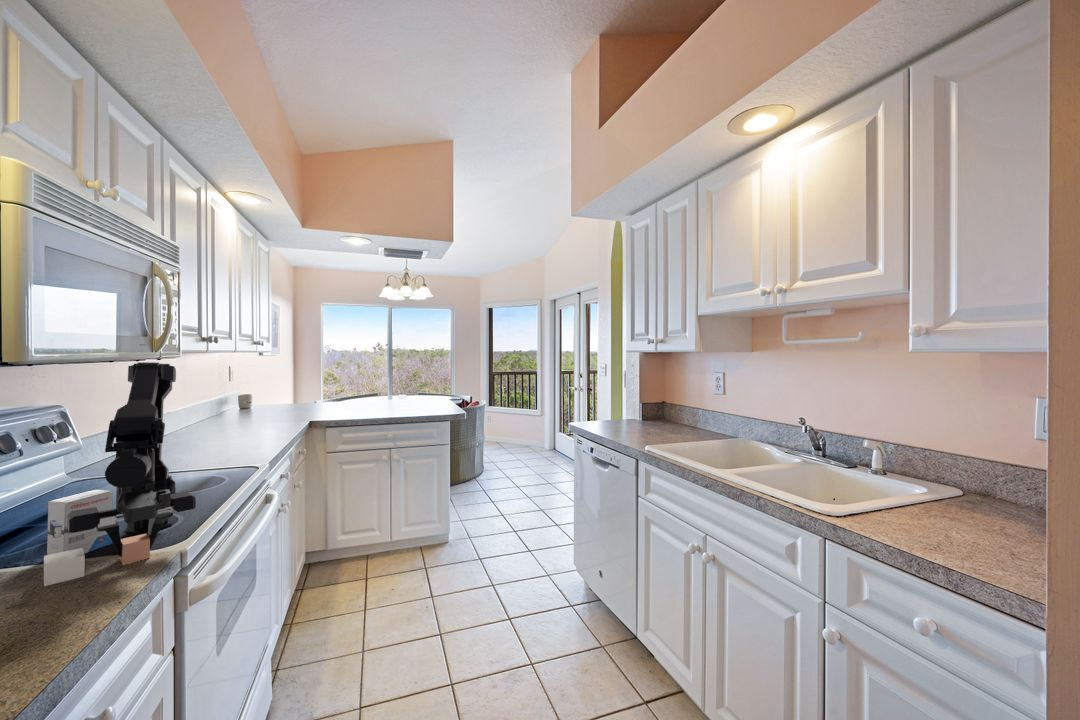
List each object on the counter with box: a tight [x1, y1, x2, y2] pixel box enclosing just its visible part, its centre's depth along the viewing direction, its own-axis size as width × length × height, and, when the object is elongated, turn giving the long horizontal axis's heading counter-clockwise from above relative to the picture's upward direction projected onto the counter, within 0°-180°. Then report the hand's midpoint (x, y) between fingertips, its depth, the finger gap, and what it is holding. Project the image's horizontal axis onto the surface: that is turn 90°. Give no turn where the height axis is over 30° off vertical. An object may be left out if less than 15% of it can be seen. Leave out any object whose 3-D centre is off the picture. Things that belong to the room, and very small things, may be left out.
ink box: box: [46, 489, 114, 555], centre depth 93 cm, size 9×5×12 cm, turn 168°
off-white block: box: [43, 548, 86, 587], centre depth 83 cm, size 5×5×4 cm
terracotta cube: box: [119, 533, 151, 566], centre depth 90 cm, size 4×4×4 cm
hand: (134, 552), depth 90 cm, fingers closed on terracotta cube, 4 cm apart
